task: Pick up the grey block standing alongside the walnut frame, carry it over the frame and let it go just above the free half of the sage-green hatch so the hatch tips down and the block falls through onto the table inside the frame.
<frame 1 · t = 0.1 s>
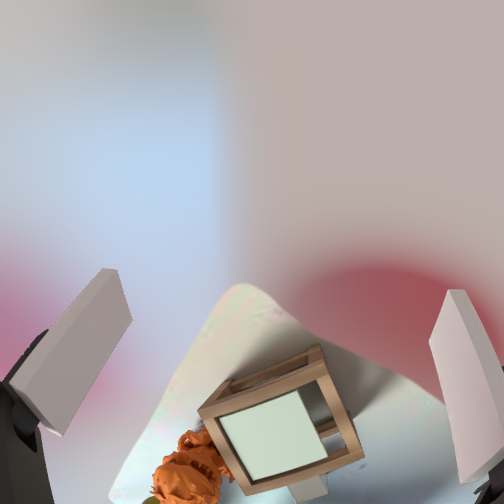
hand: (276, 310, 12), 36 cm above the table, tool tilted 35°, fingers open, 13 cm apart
alarm clock: (178, 503, 46), on the table
frame: (287, 403, 46), on the table
hatch: (273, 438, 34), point 12 cm above the table, hinge at 0.0°
orange sculpture: (211, 445, 47), on the table
grey block: (307, 469, 44), on the table
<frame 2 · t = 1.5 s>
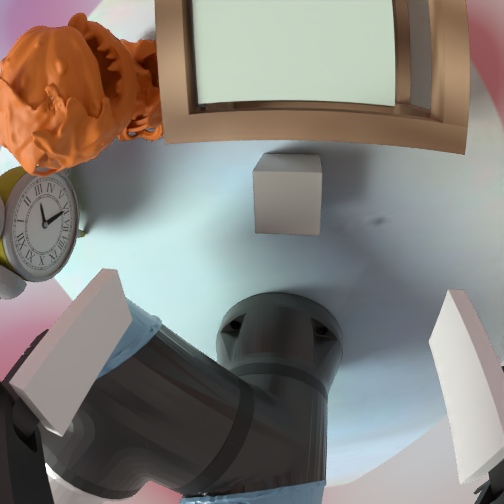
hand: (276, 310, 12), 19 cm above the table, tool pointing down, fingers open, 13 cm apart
alarm clock: (67, 195, 34), on the table
frame: (312, 38, 22), on the table
hatch: (289, 9, 13), point 12 cm above the table, hinge at 0.0°
orange sculpture: (148, 83, 26), on the table
grey block: (291, 180, 29), on the table
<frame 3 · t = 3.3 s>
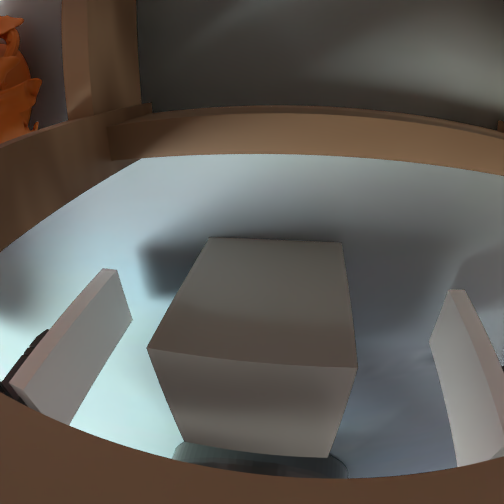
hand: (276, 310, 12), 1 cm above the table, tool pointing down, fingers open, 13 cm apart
orange sculpture: (0, 94, 11), on the table
grey block: (274, 293, 13), on the table
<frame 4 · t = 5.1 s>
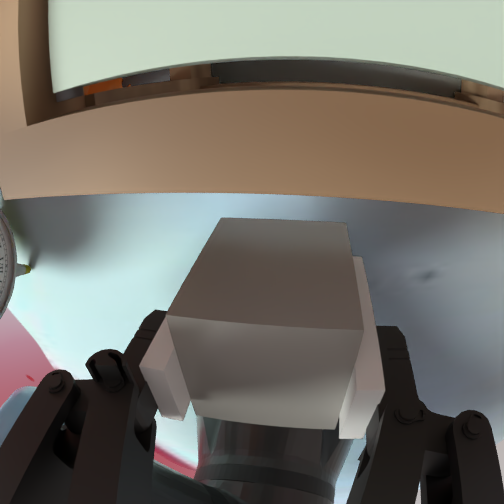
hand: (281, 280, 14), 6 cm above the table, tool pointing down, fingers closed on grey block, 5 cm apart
alarm clock: (7, 220, 24), on the table
orange sculpture: (84, 65, 16), on the table
grey block: (282, 272, 14), point 5 cm above the table, touching gripper
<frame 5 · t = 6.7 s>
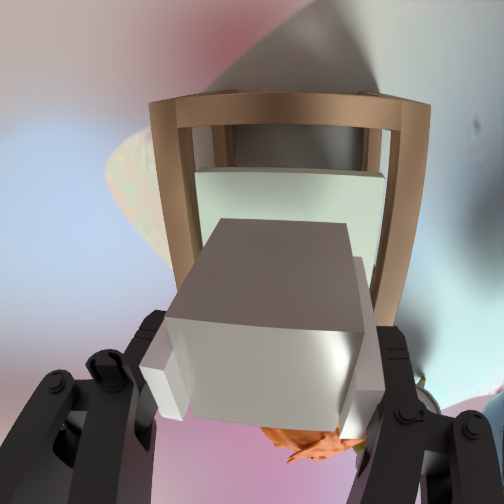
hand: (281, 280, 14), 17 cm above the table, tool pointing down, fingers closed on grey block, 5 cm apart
alarm clock: (388, 383, 40), on the table
frame: (298, 177, 28), on the table
hatch: (288, 255, 19), point 12 cm above the table, hinge at 0.0°
orange sculpture: (321, 310, 35), on the table
grey block: (282, 273, 14), point 16 cm above the table, touching gripper
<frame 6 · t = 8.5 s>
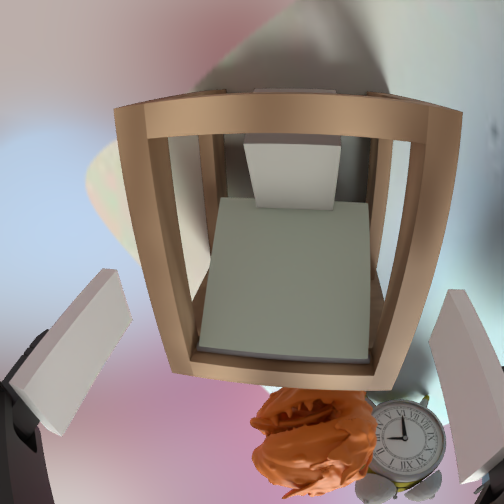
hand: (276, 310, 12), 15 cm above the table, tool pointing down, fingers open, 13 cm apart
alarm clock: (390, 401, 37), on the table
frame: (296, 188, 25), on the table
hatch: (289, 276, 20), point 8 cm above the table, hinge at -50.1°, touching grey block
orange sculpture: (320, 330, 32), on the table
grey block: (296, 179, 22), point 3 cm above the table, tilted 56°, touching frame, hatch
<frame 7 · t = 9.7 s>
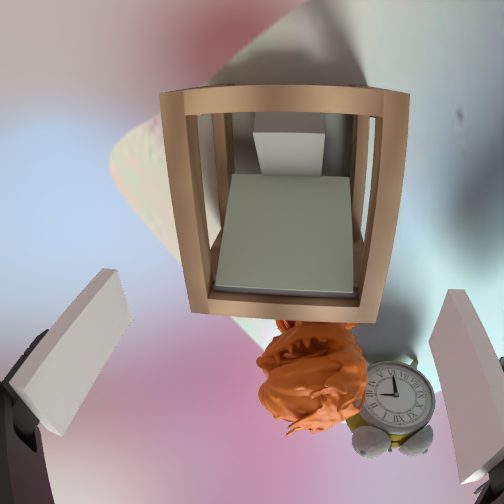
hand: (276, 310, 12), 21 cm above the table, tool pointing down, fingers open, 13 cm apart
alarm clock: (382, 365, 42), on the table
frame: (292, 165, 30), on the table
hatch: (287, 231, 25), point 8 cm above the table, hinge at -54.0°, touching frame
orange sculpture: (315, 292, 38), on the table
grey block: (292, 152, 28), point 2 cm above the table, tilted 48°, touching frame
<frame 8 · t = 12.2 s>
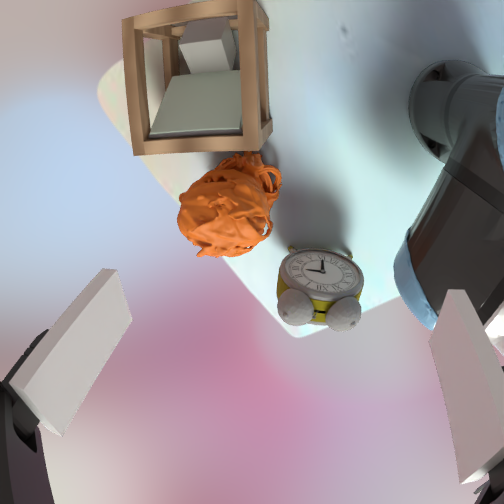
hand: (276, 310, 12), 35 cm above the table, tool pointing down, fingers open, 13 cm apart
alarm clock: (318, 260, 51), on the table
frame: (218, 76, 39), on the table
hatch: (202, 102, 34), point 8 cm above the table, hinge at -50.9°, touching grey block
orange sculpture: (246, 179, 46), on the table
grey block: (215, 63, 37), point 2 cm above the table, tilted 45°, touching frame, hatch
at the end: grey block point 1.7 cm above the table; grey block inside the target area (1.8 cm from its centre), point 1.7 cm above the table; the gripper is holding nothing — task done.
